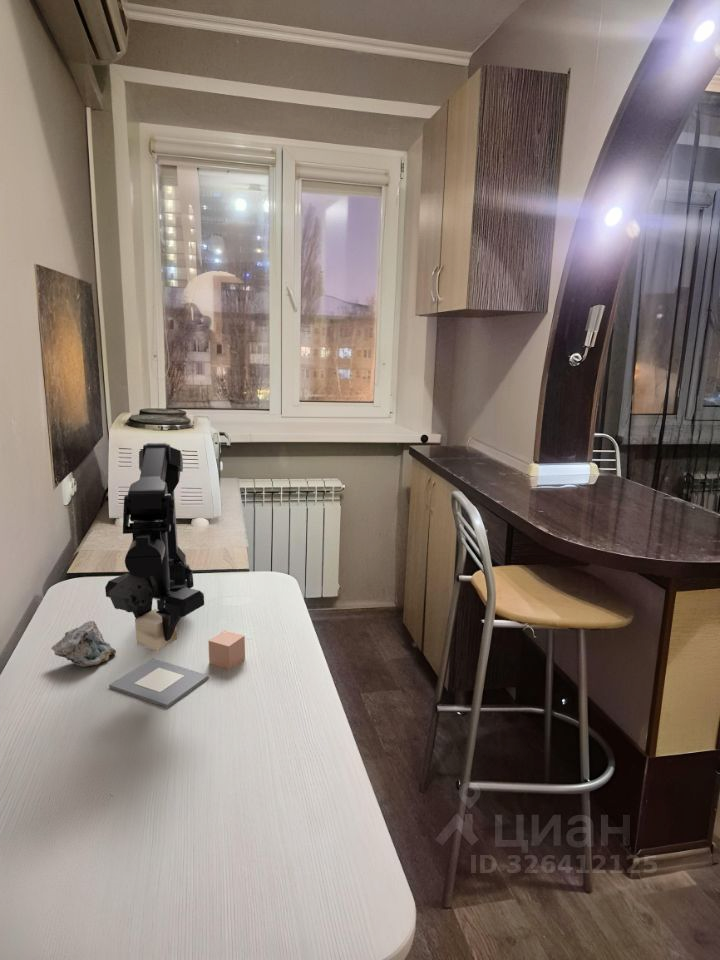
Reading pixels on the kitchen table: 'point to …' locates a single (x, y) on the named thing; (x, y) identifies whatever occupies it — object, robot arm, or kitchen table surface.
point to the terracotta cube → (226, 649)
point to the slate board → (159, 682)
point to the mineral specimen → (84, 646)
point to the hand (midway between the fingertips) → (156, 636)
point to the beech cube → (152, 631)
